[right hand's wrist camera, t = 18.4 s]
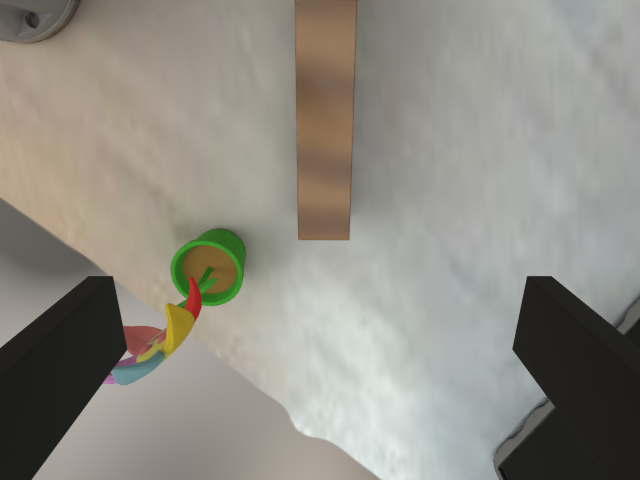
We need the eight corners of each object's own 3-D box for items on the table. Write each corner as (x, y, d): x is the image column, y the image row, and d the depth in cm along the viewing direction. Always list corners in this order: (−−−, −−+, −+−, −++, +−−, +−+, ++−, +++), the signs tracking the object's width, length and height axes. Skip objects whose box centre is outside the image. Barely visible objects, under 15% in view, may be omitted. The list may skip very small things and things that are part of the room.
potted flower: (228, 207, 48) (138, 319, 24) (268, 257, 50) (220, 403, 27) (169, 248, 50) (32, 389, 26) (210, 295, 52) (118, 463, 28)
